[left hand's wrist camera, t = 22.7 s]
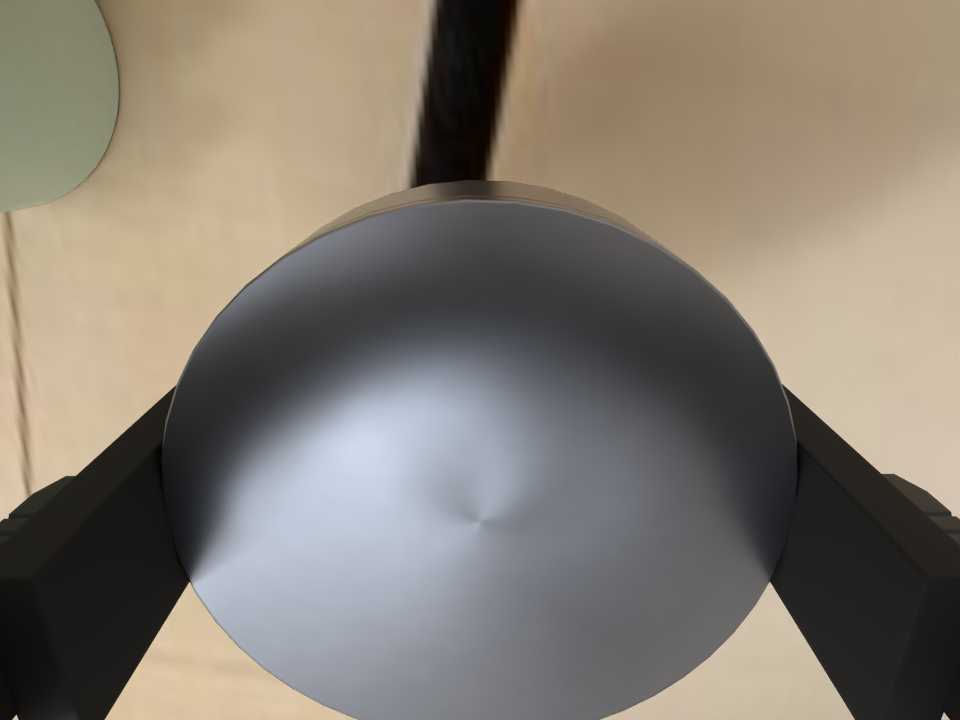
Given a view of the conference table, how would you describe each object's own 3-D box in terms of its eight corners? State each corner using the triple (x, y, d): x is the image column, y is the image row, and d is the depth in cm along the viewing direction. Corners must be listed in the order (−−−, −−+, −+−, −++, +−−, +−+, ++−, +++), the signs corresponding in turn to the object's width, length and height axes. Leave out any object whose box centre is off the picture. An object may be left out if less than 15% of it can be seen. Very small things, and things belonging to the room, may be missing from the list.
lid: (826, 253, 11) (918, 291, 9) (641, 671, 14) (672, 776, 12) (243, 115, 10) (173, 116, 8) (204, 596, 14) (149, 693, 11)
